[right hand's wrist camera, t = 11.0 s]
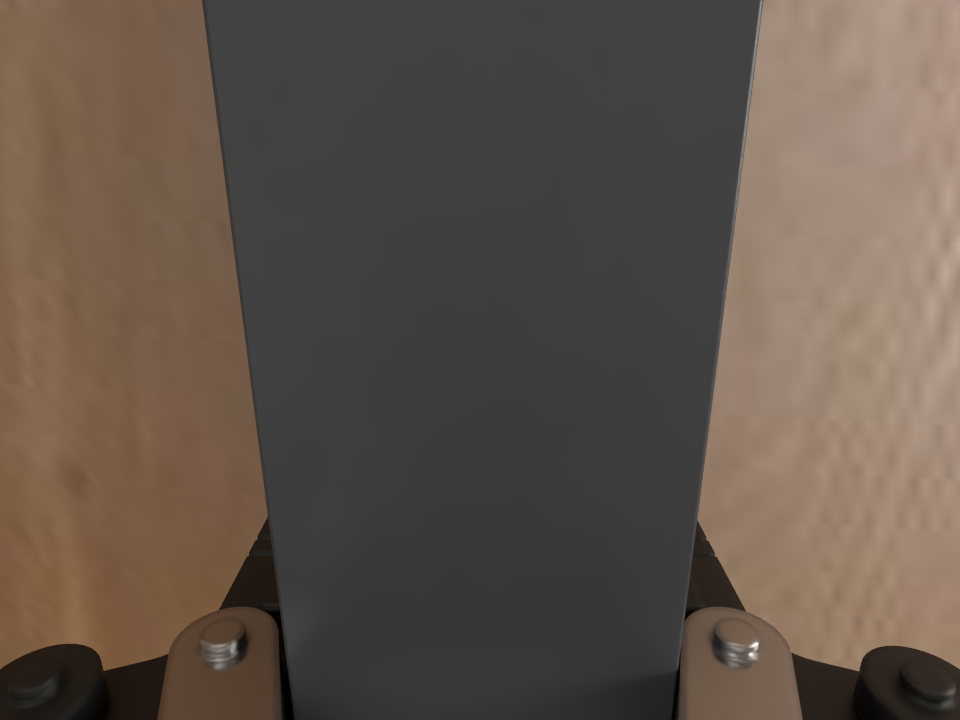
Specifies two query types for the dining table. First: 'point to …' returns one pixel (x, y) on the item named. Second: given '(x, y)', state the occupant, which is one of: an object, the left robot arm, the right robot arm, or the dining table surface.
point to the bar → (482, 336)
